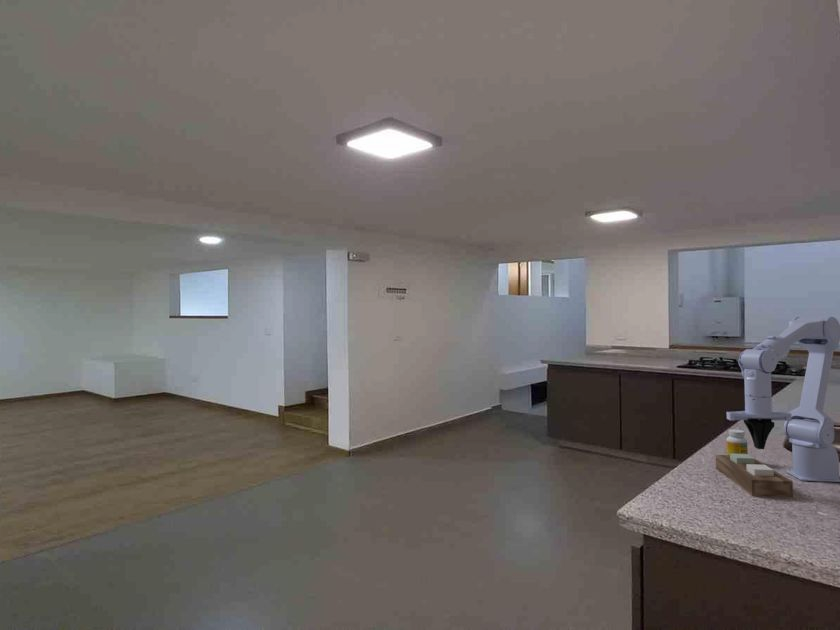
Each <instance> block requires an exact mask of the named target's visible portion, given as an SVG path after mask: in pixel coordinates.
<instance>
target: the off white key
mask: <svg viewBox="0 0 840 630" xmlns="http://www.w3.org/2000/svg"><path fill="white" fill-rule="evenodd" d="M746 469H747V471H748V472H749V473H751V474H752V475H754V476H774V471H775V470H774V469H773V468H771V467H770V466H768V465H766V464H764V465H757V464H746Z"/></svg>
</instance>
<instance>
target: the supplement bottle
mask: <svg viewBox="0 0 840 630" xmlns="http://www.w3.org/2000/svg"><path fill="white" fill-rule="evenodd" d="M728 435H729V436H727V437H726V440H725V441H726V455H730V454H748V455H749V451H748V449H749V448H748V440H747V438H746V437H745V431H744V430H741V429H728Z"/></svg>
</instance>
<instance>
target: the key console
mask: <svg viewBox="0 0 840 630" xmlns="http://www.w3.org/2000/svg"><path fill="white" fill-rule="evenodd" d="M755 464H757V465H765V464H764V463H763V462H762V461H760V460H758V459H756V458H755ZM715 469H716V470H718V472H720V473H722V475H724V476H725V477H727V478H728V479H730V481H732V482H733V483H735V484H736V485H737V486H738V487H740V488H741V489H742V490H744V491H745V492H746V493H748V494H749V495H750V496H751V497H767V498H768V497H769V498H772V497H773V498H789V499H790V498H791V499H793V498H794V490H793V489H794V486H793V485H794V484H793V482H794V481H793V480H791V479H789V478H788V477H786V476H785V475H783V474H781V473H779V472H778V471H776V470H774V476H754V475H752V474H751V473H749V472H748V471H747V469H746V464H736V463H734V462H733V461H731V460H730V455H727V454H715Z"/></svg>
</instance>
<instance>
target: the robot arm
mask: <svg viewBox="0 0 840 630" xmlns="http://www.w3.org/2000/svg"><path fill="white" fill-rule="evenodd" d="M796 343H798V345H799V346H800V347H801V348H803V349H805V350H807V352H808V357H807V364H806V368H805V369H806V370H805V375H804V379H803V385H802V391H801V396H800V402H799V406H798V407H796V408H794V409H792V410H790V411H788V412H787V411H773V401H772V399H773V398H772V397H773V396H772V373H773V372H774V371H775V369H776V368H777V364H778V363H779V360H781V359H782V358H783V357H785V356H787V355H788V354H789V353H790V351H791V346H793V345H794V344H796ZM839 346H840V322H839V320H838V319H837V318H836V317H834V316H827V317H826V316H825V317H819V316H818V317H817V316H816V317H800V316H795V317H793V318H792V319H791V320H789V322H788V327H787V328H786V329H785V330H784V331H782V332H781V333H780V334H779V335H768V336H767V337H766V339H765V340H763V341H762V342H761V343H759V344H757V345H756V346H755V347H754V348H752V349H751V348H746V349H745V350H743V351H742V352H741V353H740V354H739V358H738V360H737V362H738V366H739V368H740V370H741V376H742V377H743V380H744V410H740V411H739V410H738V411H726V420H729V421H733V422H734V421H743V424H745V426H746V428H747V430H748V432H749V435H750V436H751V439H752V442H753V446H754V448H756V449H758V450H765V447H766V444H767V441H768V437H769V435H770V434H771V431H772V430H773V429H774V428H775V422H774V421H784V424H783V429H782V430H783V433H784V435H785V438H786V439H788V442H789V443H791V444H792V445H791V447H792V448H791V450H792V452H791V453H792V454H791V455H792V469H786V470H785V472H786V473H788V474H790V475H791V476H792V477H795V478H796V479H798V480H799V481H802V482H803V481H805V482H807V481H808V482H829V483H831V482H832V483H833V482H834V483H840V458H839V454H838V451H837V449H836V448H835V447H834V446H832V444H833V442H834V440H835V429H834V428H835V427H834V426H835V421H834V420H833V419H832V417H830V416H829V415H828V414H827V413H826V412H825V411H824V407H825V403H826V398H827V397H826V396H827V391H828V386H829V385H828V384H829V379H830V375H831V374H830V372H831V367H832V362H833V356H834V352H835V351H836V350H837V349H839Z"/></svg>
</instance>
